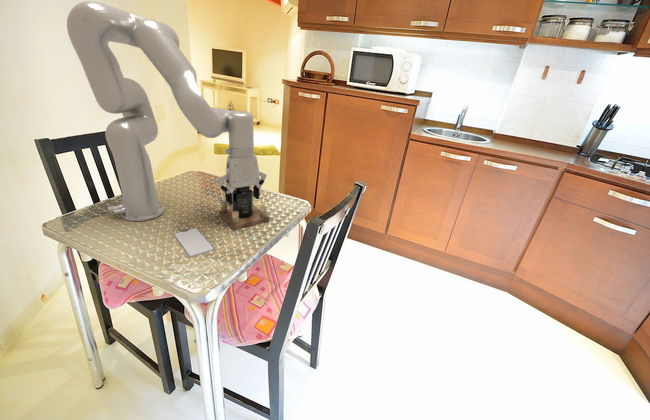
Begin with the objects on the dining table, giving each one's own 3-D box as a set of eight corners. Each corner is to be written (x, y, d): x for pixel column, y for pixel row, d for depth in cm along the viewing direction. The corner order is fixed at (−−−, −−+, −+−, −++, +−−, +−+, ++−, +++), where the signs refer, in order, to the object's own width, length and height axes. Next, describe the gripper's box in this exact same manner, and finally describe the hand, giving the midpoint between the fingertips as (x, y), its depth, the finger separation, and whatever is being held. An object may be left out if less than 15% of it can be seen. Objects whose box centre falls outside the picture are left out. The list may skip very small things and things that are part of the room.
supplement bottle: (256, 212, 105) (256, 181, 100) (245, 220, 99) (244, 187, 94) (241, 208, 107) (240, 177, 102) (228, 215, 102) (227, 182, 96)
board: (233, 230, 96) (232, 215, 93) (218, 214, 105) (217, 200, 102) (269, 221, 103) (269, 207, 101) (252, 207, 112) (252, 194, 110)
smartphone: (189, 257, 80) (172, 233, 90) (189, 259, 81) (172, 235, 90) (215, 248, 85) (196, 227, 95) (215, 250, 85) (197, 229, 95)
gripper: (219, 157, 86) (222, 209, 94) (271, 152, 96) (270, 199, 104) (210, 151, 91) (214, 201, 99) (260, 147, 102) (260, 192, 109)
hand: (243, 200), depth 101 cm, fingers open, 9 cm apart
